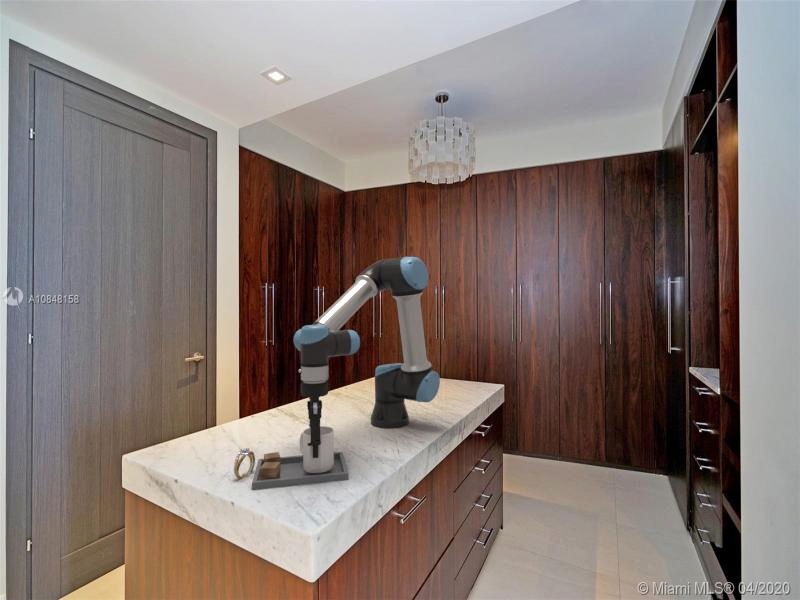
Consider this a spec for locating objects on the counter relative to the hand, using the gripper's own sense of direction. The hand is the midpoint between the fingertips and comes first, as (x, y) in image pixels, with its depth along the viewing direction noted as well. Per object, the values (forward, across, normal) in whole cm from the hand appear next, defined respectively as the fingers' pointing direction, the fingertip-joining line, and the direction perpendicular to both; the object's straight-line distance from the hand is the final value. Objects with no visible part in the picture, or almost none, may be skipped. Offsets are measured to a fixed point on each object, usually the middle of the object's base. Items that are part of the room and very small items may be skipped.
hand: (314, 461), depth 112 cm
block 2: (+3, +4, -12) cm, 12 cm away
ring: (+4, -1, -18) cm, 19 cm away
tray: (+3, 0, -4) cm, 5 cm away
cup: (+2, -1, 0) cm, 2 cm away
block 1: (+3, -4, -12) cm, 12 cm away
